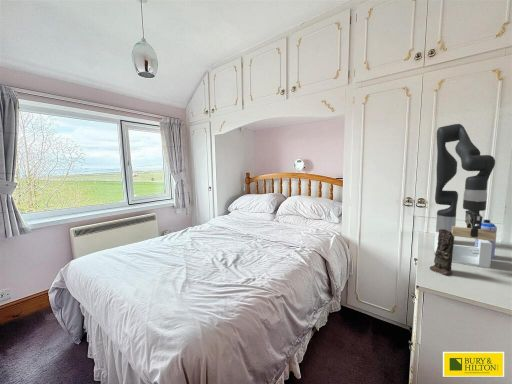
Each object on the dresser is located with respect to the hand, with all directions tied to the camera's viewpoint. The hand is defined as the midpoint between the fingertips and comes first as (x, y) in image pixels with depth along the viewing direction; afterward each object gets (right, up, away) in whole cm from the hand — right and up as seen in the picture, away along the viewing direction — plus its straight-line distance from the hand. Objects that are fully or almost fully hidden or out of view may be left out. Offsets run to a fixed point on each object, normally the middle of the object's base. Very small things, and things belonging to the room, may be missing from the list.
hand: (471, 234), depth 101 cm
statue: (-14, -17, 0) cm, 22 cm away
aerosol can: (+22, -15, +15) cm, 30 cm away
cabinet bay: (+5, -15, +12) cm, 20 cm away
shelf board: (0, -1, 0) cm, 1 cm away
